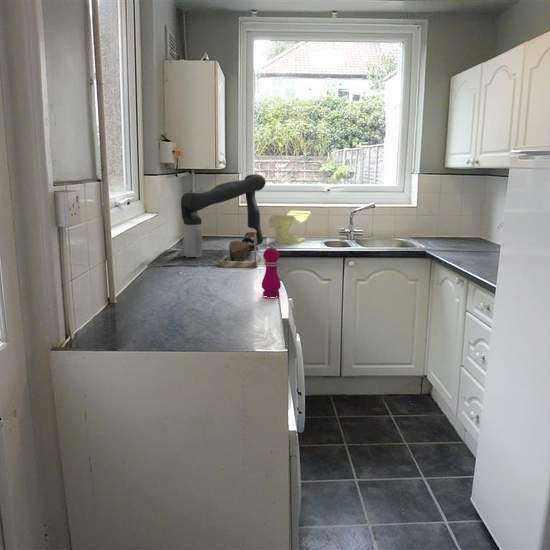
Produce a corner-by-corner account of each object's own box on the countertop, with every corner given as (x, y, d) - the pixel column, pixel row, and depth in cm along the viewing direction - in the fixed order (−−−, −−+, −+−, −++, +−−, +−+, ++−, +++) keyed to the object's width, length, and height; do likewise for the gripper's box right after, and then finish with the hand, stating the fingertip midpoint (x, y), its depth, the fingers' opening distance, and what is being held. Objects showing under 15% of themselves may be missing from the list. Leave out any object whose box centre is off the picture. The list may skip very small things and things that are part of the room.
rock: (238, 256, 248) (223, 243, 250) (231, 270, 254) (217, 258, 257) (253, 246, 257) (238, 234, 259) (246, 260, 264) (232, 248, 266)
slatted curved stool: (287, 237, 338) (287, 210, 334) (310, 239, 332) (311, 211, 328) (269, 244, 311) (269, 214, 307) (293, 246, 305) (293, 216, 301)
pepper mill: (269, 292, 200) (270, 242, 196) (284, 296, 196) (285, 244, 191) (257, 296, 195) (257, 244, 190) (272, 299, 190) (272, 246, 186)
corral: (219, 266, 247) (218, 232, 243) (226, 260, 263) (225, 227, 259) (256, 267, 245) (256, 233, 242) (261, 260, 261) (261, 228, 258)
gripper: (237, 236, 278) (230, 241, 261) (261, 236, 277) (256, 241, 260) (237, 249, 280) (231, 255, 263) (261, 250, 279) (256, 256, 262)
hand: (243, 248), depth 262 cm, fingers closed
